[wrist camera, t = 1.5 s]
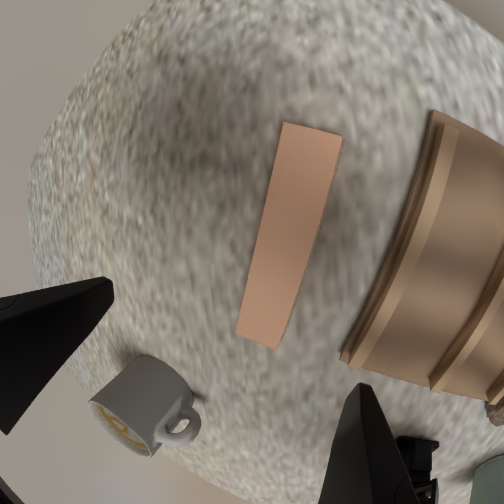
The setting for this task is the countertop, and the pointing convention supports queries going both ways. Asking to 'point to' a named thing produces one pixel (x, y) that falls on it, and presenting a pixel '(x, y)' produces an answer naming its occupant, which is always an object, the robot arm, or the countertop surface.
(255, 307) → the clay strip
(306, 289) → the countertop surface
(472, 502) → the disposable coffee cup
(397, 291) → the rack rail
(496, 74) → the countertop surface
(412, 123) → the countertop surface
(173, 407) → the coffee mug
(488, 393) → the rack rail
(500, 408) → the brown rock
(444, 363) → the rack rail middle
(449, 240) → the rack
